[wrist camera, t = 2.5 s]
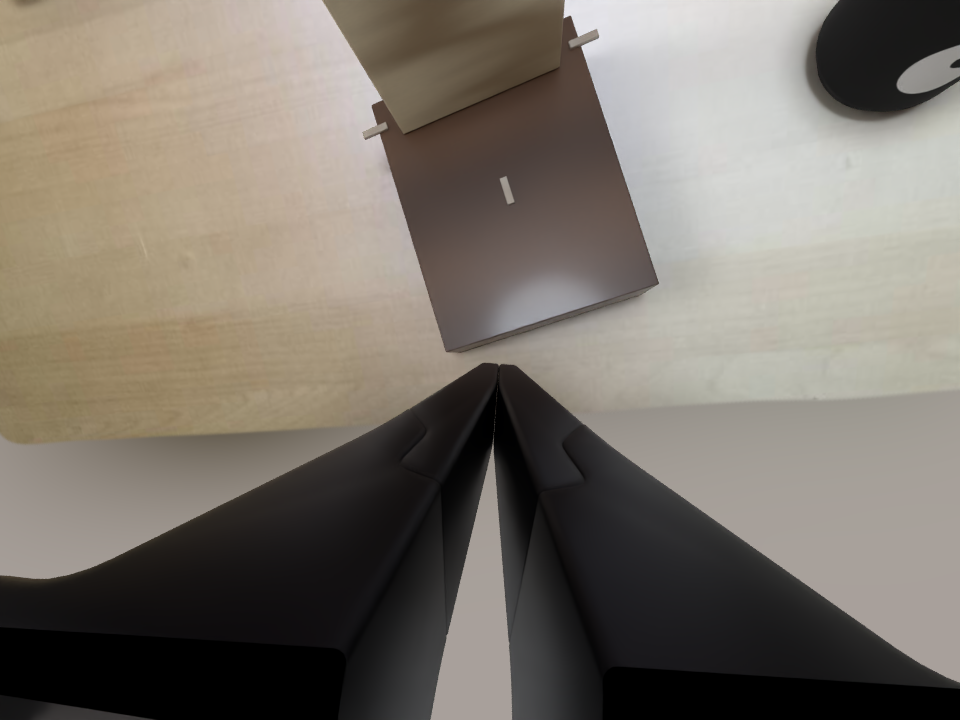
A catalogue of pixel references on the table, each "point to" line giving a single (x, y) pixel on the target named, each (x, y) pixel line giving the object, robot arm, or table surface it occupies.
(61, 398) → the table surface
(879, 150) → the table surface
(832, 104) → the table surface
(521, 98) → the brown flat piece
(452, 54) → the red-cornered cream slab
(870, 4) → the beverage can
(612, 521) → the robot arm
